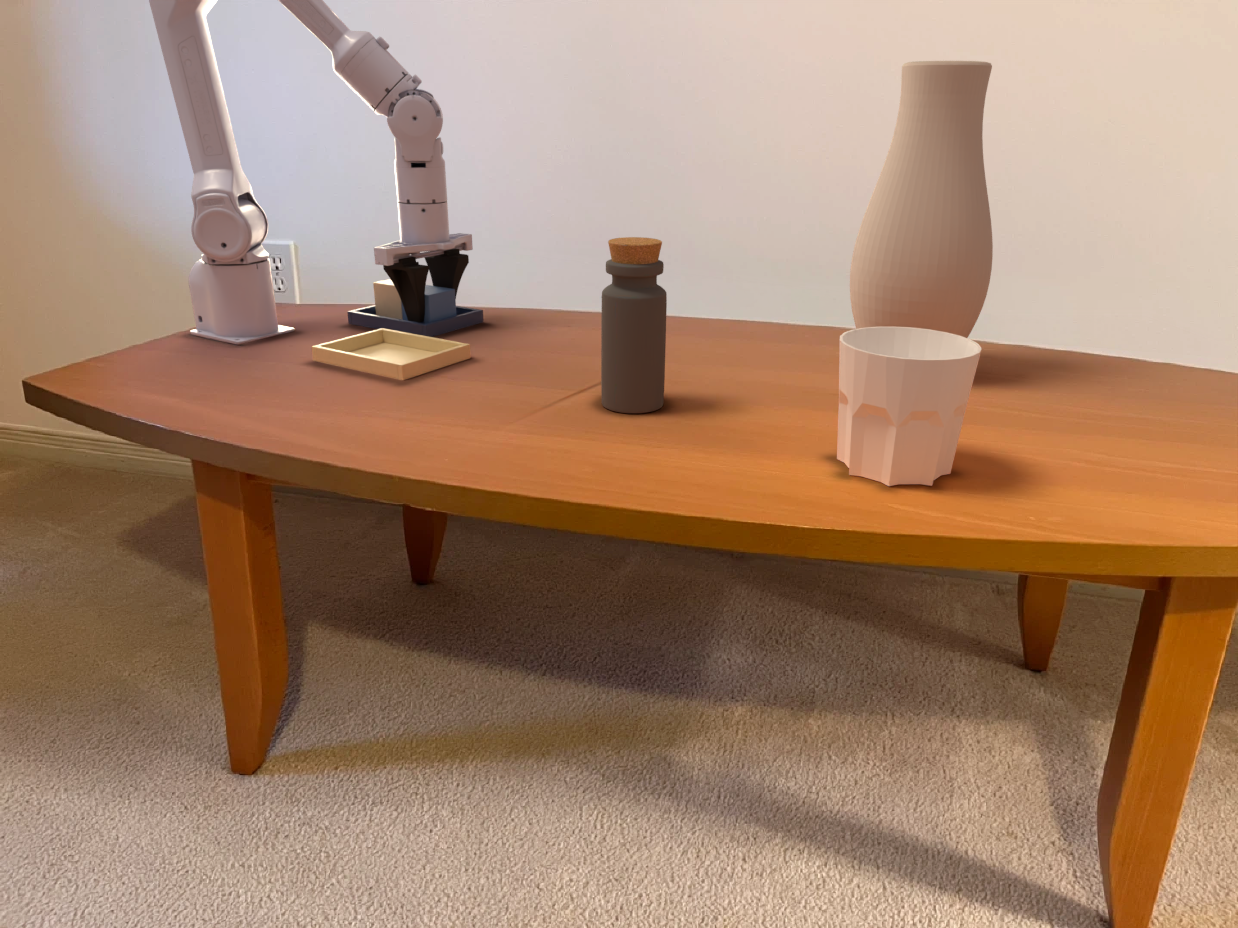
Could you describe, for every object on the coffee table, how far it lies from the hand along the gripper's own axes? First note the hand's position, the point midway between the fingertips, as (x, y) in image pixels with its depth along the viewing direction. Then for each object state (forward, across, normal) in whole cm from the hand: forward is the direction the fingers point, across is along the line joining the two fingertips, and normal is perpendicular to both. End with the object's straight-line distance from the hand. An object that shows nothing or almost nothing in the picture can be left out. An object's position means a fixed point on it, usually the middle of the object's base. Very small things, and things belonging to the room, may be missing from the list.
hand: (430, 317), depth 109 cm
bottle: (+2, -11, -36) cm, 37 cm away
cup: (+2, -13, -61) cm, 62 cm away
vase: (+2, +16, -54) cm, 56 cm away
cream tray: (+2, -13, -7) cm, 15 cm away
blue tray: (+2, +1, +3) cm, 4 cm away
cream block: (+1, +2, +7) cm, 7 cm away
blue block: (+1, 0, 0) cm, 1 cm away
